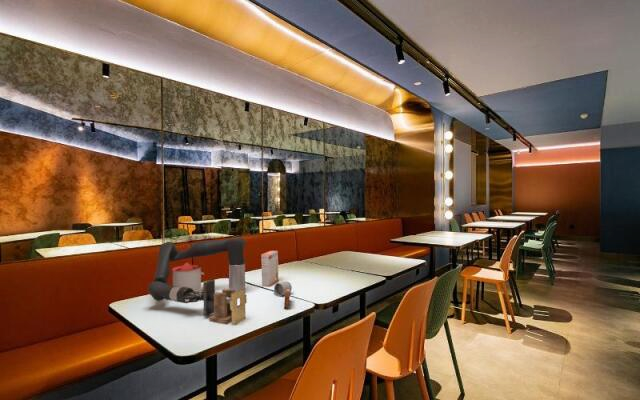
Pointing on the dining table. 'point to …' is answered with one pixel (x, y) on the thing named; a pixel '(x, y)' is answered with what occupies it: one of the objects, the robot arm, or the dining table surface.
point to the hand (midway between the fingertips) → (208, 298)
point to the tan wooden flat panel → (239, 310)
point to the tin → (287, 297)
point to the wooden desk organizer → (210, 297)
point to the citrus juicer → (187, 276)
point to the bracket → (222, 307)
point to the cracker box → (269, 268)
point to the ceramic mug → (281, 288)
